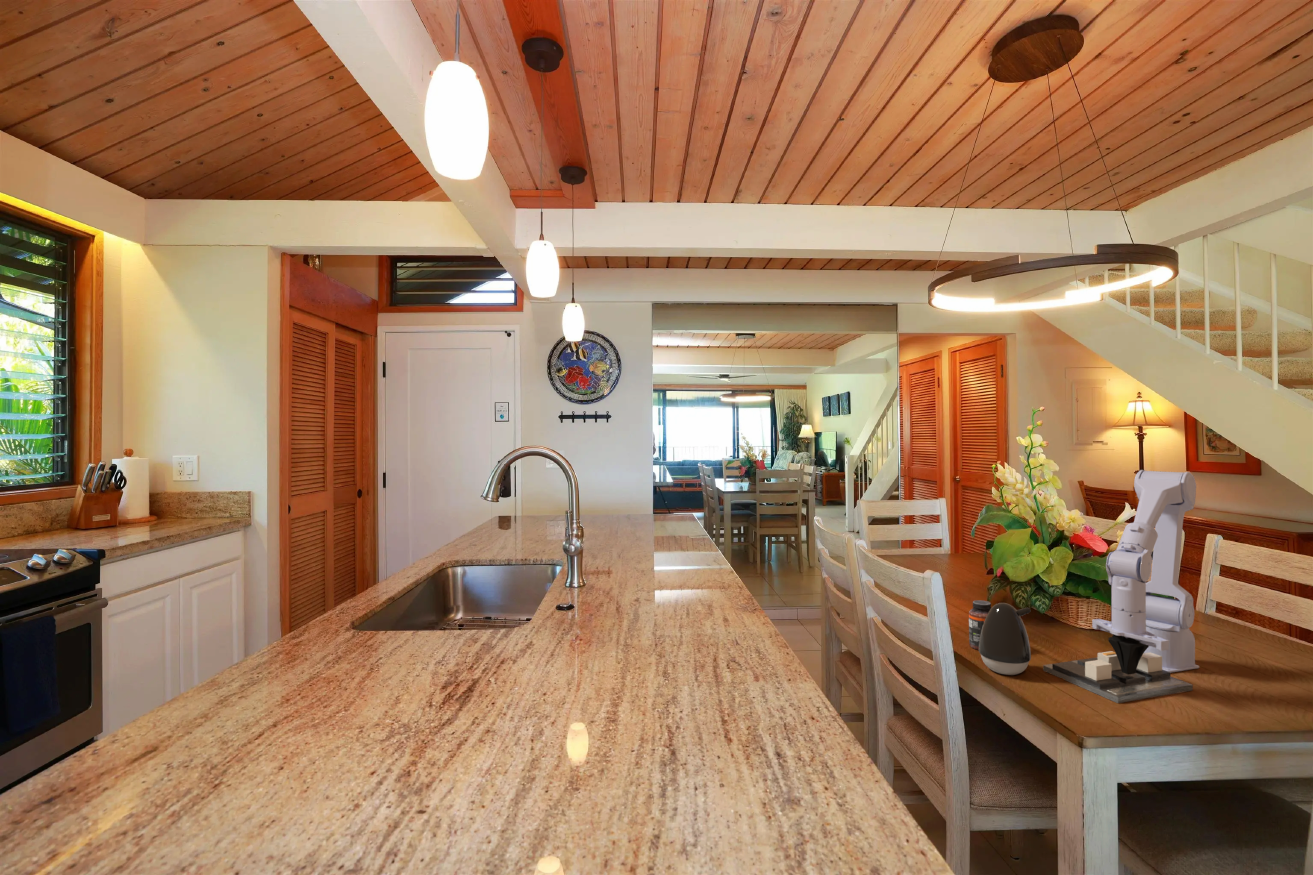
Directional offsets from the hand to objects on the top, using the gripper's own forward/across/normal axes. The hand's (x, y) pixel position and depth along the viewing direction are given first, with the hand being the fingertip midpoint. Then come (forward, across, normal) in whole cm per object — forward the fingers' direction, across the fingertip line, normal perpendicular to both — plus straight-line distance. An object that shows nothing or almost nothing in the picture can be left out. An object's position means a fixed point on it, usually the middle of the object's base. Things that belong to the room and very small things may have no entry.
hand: (1128, 672), depth 129 cm
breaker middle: (0, -4, 0) cm, 4 cm away
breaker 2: (0, -1, +7) cm, 7 cm away
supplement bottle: (+3, -27, -12) cm, 30 cm away
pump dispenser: (+3, -14, -18) cm, 23 cm away
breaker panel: (+3, -3, 0) cm, 4 cm away
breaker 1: (0, -1, -7) cm, 7 cm away
